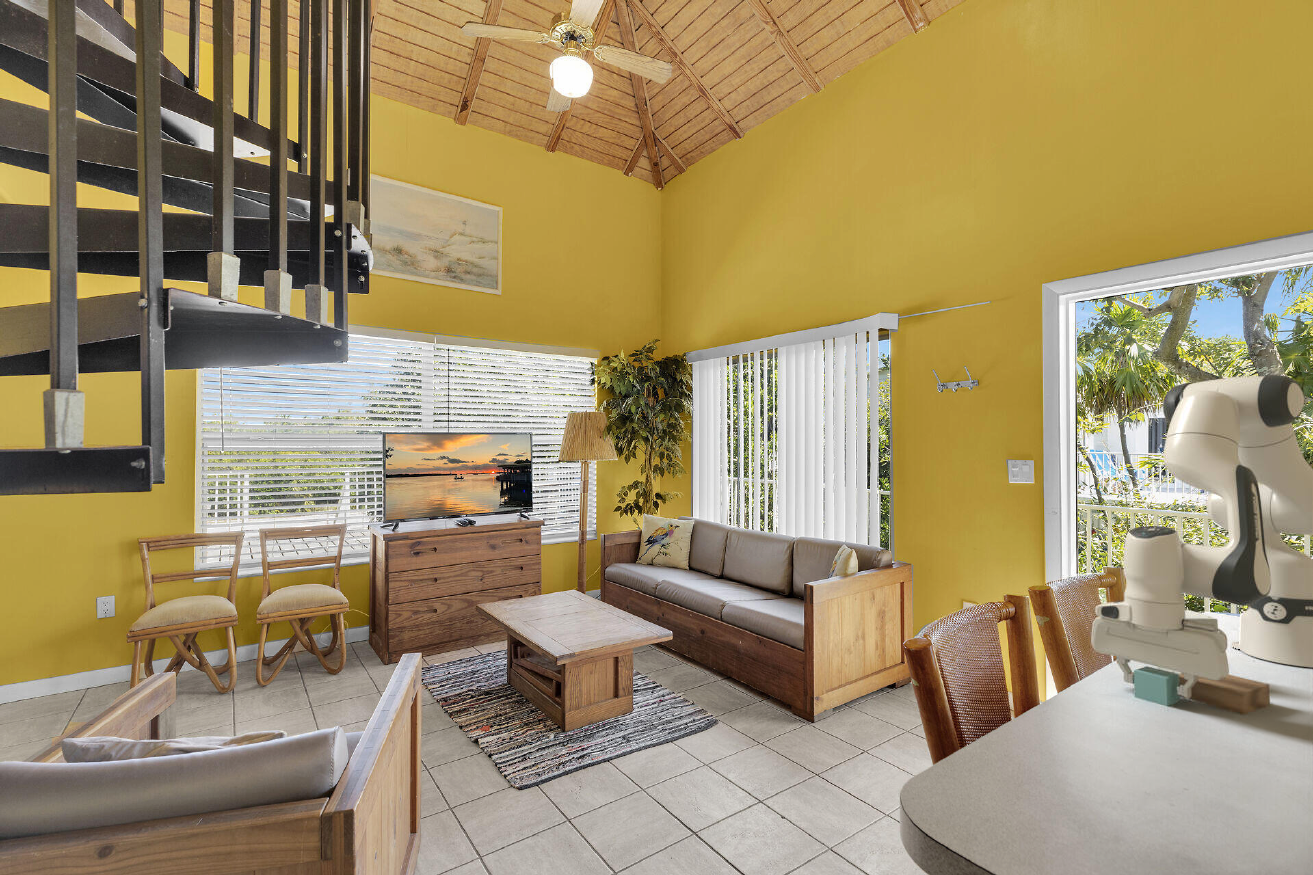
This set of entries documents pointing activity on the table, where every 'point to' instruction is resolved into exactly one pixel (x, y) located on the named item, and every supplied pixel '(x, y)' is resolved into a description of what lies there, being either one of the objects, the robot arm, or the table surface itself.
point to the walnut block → (1230, 693)
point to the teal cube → (1156, 685)
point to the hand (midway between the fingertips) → (1156, 689)
